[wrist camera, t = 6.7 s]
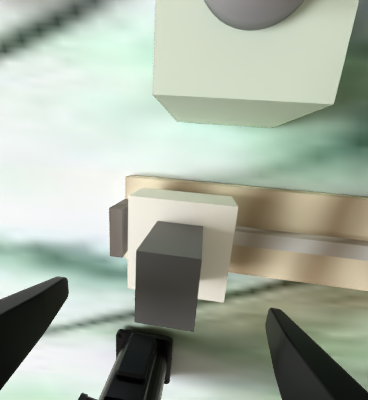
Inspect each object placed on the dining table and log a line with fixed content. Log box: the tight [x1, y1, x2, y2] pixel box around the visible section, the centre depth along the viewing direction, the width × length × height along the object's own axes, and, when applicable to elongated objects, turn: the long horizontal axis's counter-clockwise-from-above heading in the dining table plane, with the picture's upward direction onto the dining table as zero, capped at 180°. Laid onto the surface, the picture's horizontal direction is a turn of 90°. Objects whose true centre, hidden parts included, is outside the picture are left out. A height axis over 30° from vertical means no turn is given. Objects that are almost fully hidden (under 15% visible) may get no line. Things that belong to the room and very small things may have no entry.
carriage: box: [127, 188, 238, 332], centre depth 13 cm, size 7×7×8 cm
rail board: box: [109, 175, 368, 291], centre depth 16 cm, size 24×8×4 cm, turn 86°
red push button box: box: [152, 0, 359, 128], centre depth 11 cm, size 10×8×9 cm
